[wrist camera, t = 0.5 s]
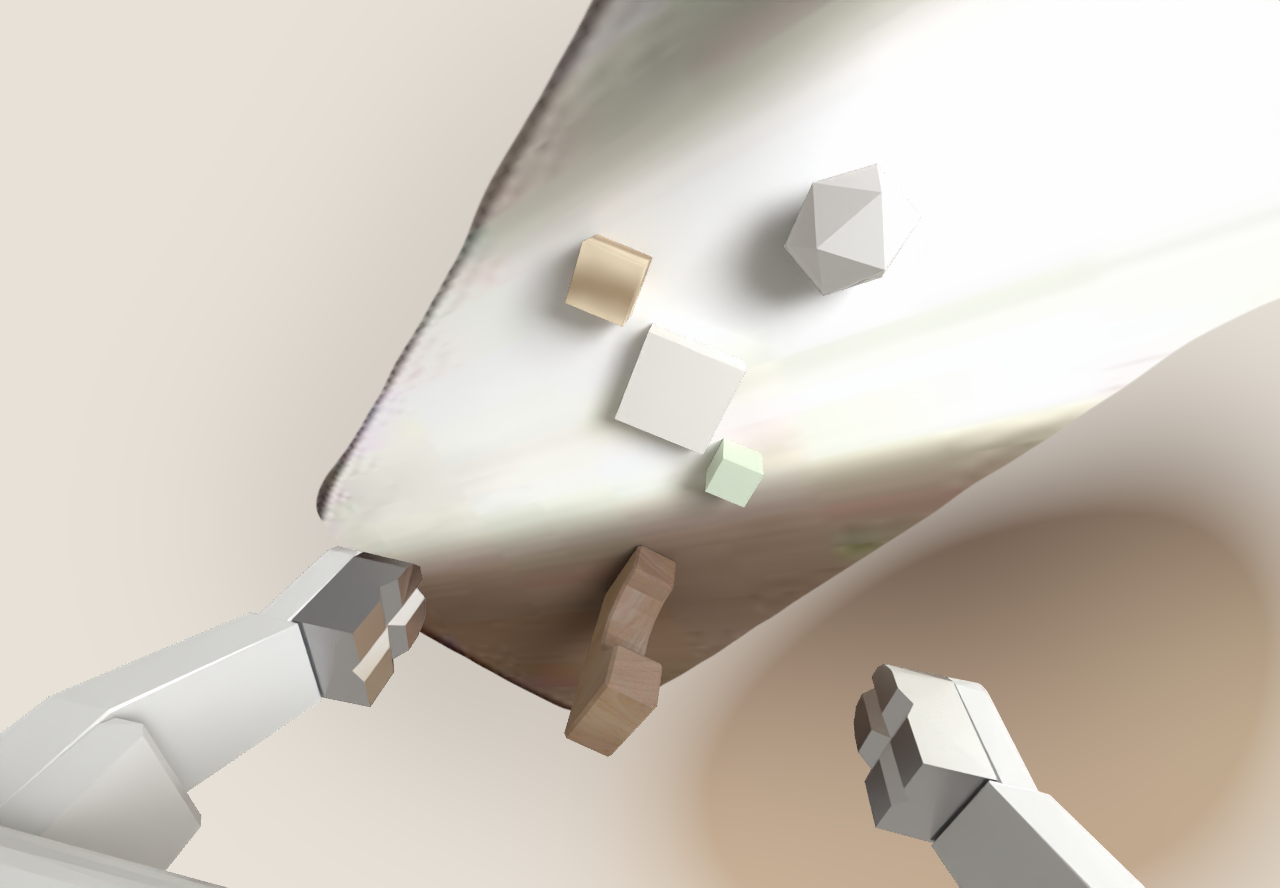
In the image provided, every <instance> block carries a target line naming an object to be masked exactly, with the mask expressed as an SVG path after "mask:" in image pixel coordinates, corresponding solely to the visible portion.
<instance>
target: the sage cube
mask: <svg viewBox="0 0 1280 888" xmlns="http://www.w3.org/2000/svg"><path fill="white" fill-rule="evenodd" d="M763 476H764V471H763V462H762V454H761V453H759V452H756V451H754V450H751V449H749V448H747V447H744V446H742V445H739V444H737V443H734V442H732V441H729V440H727V439H725V438H724V439H723V440H722V442H721V444H720V446H719V448H718V450H717V452H716V454H715V455H714V457H713V459H712V461H711V463H710V465H709V467H708V469H707V473H706V486H705V492H707V493H710V494H712V495H715V496H717V497H720V498H722V499H725V500H727V501H730V502H732V503H735V504H737V505H740V506H742V507H745V505H746V503H747V502H748V500H749V499H750V497H751V495H752V494H753V492H754V490H755V489H756V487H757V485H758V484H759V482H760V481H761V479H762V477H763Z"/></svg>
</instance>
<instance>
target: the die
mask: <svg viewBox="0 0 1280 888" xmlns="http://www.w3.org/2000/svg"><path fill="white" fill-rule="evenodd" d="M920 218H921V215H920V214H919V213H918V212H917V211H916V209H915V208H914V207H913V206H912V205H911V204H910V202H909V201H908V200H907V199H906V198H905V196H904V195H903V194H902V193H901V192H900V190H899V189H898V188H897V187H896V186H895V185H894V183H893V182H892V181H891V180H890V179H889V177H888V176H887V175H886V174H885V173H884V172H883V170H882V169H881V168H880V167H879V166H878V164H874V165H870V166H867V167H864V168H860V169H857V170H854V171H850V172H847V173H844V174H840V175H837V176H833V177H830V178H827V179H823V180H820V181H817V182H813V183H812V185H811V188H810V190H809V192H808V194H807V197H806V199H805V201H804V203H803V206H802V208H801V210H800V212H799V214H798V217H797V219H796V221H795V223H794V226H793V228H792V230H791V232H790V234H789V237H788V239H787V241H786V243H785V246H784V247H785V249H786V250H787V251H788V252H789V254H790V255H791V256H792V257H793V258H794V260H795V261H796V262H797V263H798V265H799V266H800V267H801V268H802V270H803V271H804V272H805V273H806V275H807V276H808V277H809V278H810V279H811V281H812V282H813V283H814V284H815V286H816V287H817V288H818V289H819V291H820V292H821V293H822V294H823V296H824V295H827V294H830V293H833V292H836V291H840V290H843V289H846V288H849V287H852V286H855V285H859V284H862V283H865V282H868V281H871V280H875V279H878V278H881V277H882V276H883V275H884V273H885V271H886V270H887V268H888V267H889V265H890V264H891V262H892V261H893V259H894V258H895V256H896V255H897V253H898V252H899V250H900V248H901V247H902V245H903V244H904V242H905V241H906V239H907V238H908V236H909V235H910V233H911V232H912V230H913V228H914V227H915V225H916V224H917V222H918V221H919V219H920Z"/></svg>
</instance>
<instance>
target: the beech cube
mask: <svg viewBox="0 0 1280 888" xmlns="http://www.w3.org/2000/svg"><path fill="white" fill-rule="evenodd" d="M651 260H652V257H650V256H648V255H646V254H643V253H641V252H639V251H636V250H634V249H631V248H629V247H627V246H624V245H622V244H620V243H617V242H615V241H612V240H610V239H608V238H605V237H603V236H601V235H598V234H597V235H595V236H593V237H591V238H589V239H587V240H584V241H583V242H582V246H581V249H580V253H579V256H578V260H577V263H576V267H575V270H574V274H573V277H572V281H571V284H570V288H569V291H568V295H567V298H566V302H565V303H566V304H569V305H571V306H573V307H576V308H578V309H581V310H583V311H585V312H588V313H590V314H593V315H595V316H598V317H600V318H602V319H605V320H607V321H610V322H612V323H614V324H617V325H619V326H622V327H623V325H624V324H625V322H626V321H627V319H628V318H629V317H630V315H631V314H632V312H633V310H634V307H635V304H636V301H637V299H638V296H639V293H640V290H641V287H642V285H643V282H644V279H645V276H646V274H647V271H648V268H649V265H650V263H651Z"/></svg>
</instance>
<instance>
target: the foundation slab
mask: <svg viewBox="0 0 1280 888" xmlns="http://www.w3.org/2000/svg"><path fill="white" fill-rule="evenodd" d="M745 373H746V367H745V361H742V360H740V359H737V358H735V357H733V356H730V355H728V354H725V353H723V352H721V351H718V350H716V349H713V348H711V347H709V346H706V345H704V344H701V343H699V342H697V341H694V340H692V339H689V338H687V337H685V336H682V335H680V334H677V333H675V332H673V331H670V330H668V329H665V328H663V327H661V326H658V325H656V324H652V326H651V327H650V329H649V331H648V334H647V336H646V339H645V342H644V344H643V347H642V349H641V352H640V355H639V357H638V360H637V362H636V365H635V367H634V370H633V373H632V375H631V378H630V380H629V383H628V386H627V388H626V391H625V393H624V396H623V398H622V401H621V404H620V406H619V409H618V411H617V414H616V417H615V419H616V420H618V421H621V422H623V423H626V424H628V425H631V426H633V427H636V428H638V429H641V430H643V431H645V432H648V433H650V434H653V435H655V436H658V437H660V438H663V439H665V440H668V441H670V442H673V443H675V444H677V445H680V446H682V447H685V448H687V449H690V450H692V451H695V452H697V453H700V454H702V455H703V454H704V452H705V450H706V448H707V446H708V444H709V442H710V440H711V439H712V437H713V435H714V433H715V431H716V429H717V427H718V425H719V423H720V421H721V419H722V417H723V415H724V413H725V412H726V410H727V408H728V406H729V404H730V402H731V400H732V398H733V396H734V394H735V392H736V390H737V388H738V386H739V385H740V383H741V381H742V379H743V377H744V375H745Z"/></svg>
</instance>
